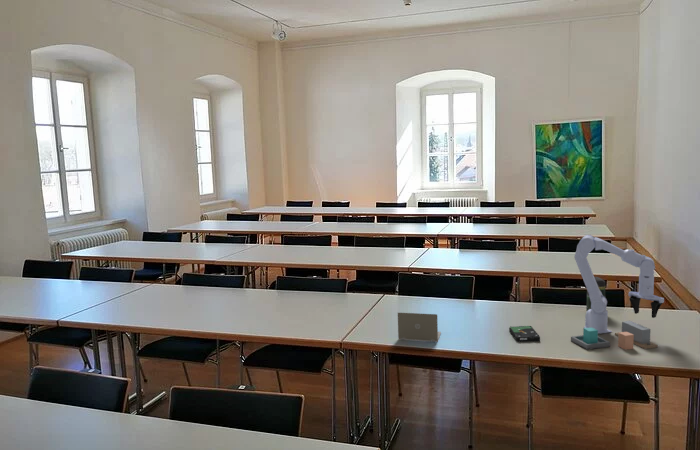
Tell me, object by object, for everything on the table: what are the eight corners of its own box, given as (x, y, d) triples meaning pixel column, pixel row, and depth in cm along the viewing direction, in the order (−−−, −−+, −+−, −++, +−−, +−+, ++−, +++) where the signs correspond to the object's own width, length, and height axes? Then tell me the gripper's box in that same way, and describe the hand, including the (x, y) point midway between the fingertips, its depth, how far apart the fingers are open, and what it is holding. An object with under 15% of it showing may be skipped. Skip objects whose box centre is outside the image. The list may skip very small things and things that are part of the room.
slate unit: (614, 334, 238) (615, 319, 237) (626, 333, 239) (626, 318, 238) (645, 348, 221) (645, 332, 220) (657, 347, 222) (658, 331, 221)
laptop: (441, 333, 250) (440, 306, 248) (437, 342, 238) (437, 314, 236) (403, 331, 255) (402, 304, 253) (398, 340, 243) (397, 312, 241)
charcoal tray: (570, 340, 233) (570, 336, 233) (592, 338, 235) (593, 333, 235) (587, 349, 222) (587, 345, 222) (610, 346, 224) (610, 342, 224)
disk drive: (540, 342, 234) (530, 331, 249) (540, 336, 234) (531, 325, 248) (516, 343, 234) (508, 331, 249) (516, 337, 234) (508, 325, 249)
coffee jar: (606, 316, 263) (607, 280, 261) (589, 316, 264) (590, 280, 262) (600, 310, 273) (601, 275, 270) (584, 310, 274) (585, 275, 271)
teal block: (583, 341, 230) (583, 328, 229) (591, 340, 231) (591, 327, 230) (589, 344, 226) (589, 331, 225) (597, 343, 227) (597, 330, 226)
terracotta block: (618, 346, 225) (618, 332, 224) (626, 345, 226) (626, 331, 225) (624, 349, 221) (625, 335, 220) (633, 348, 222) (633, 334, 221)
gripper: (624, 283, 236) (624, 313, 238) (658, 289, 224) (656, 321, 226) (634, 280, 240) (633, 310, 242) (667, 287, 228) (665, 317, 230)
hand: (645, 315), depth 234 cm, fingers open, 7 cm apart
